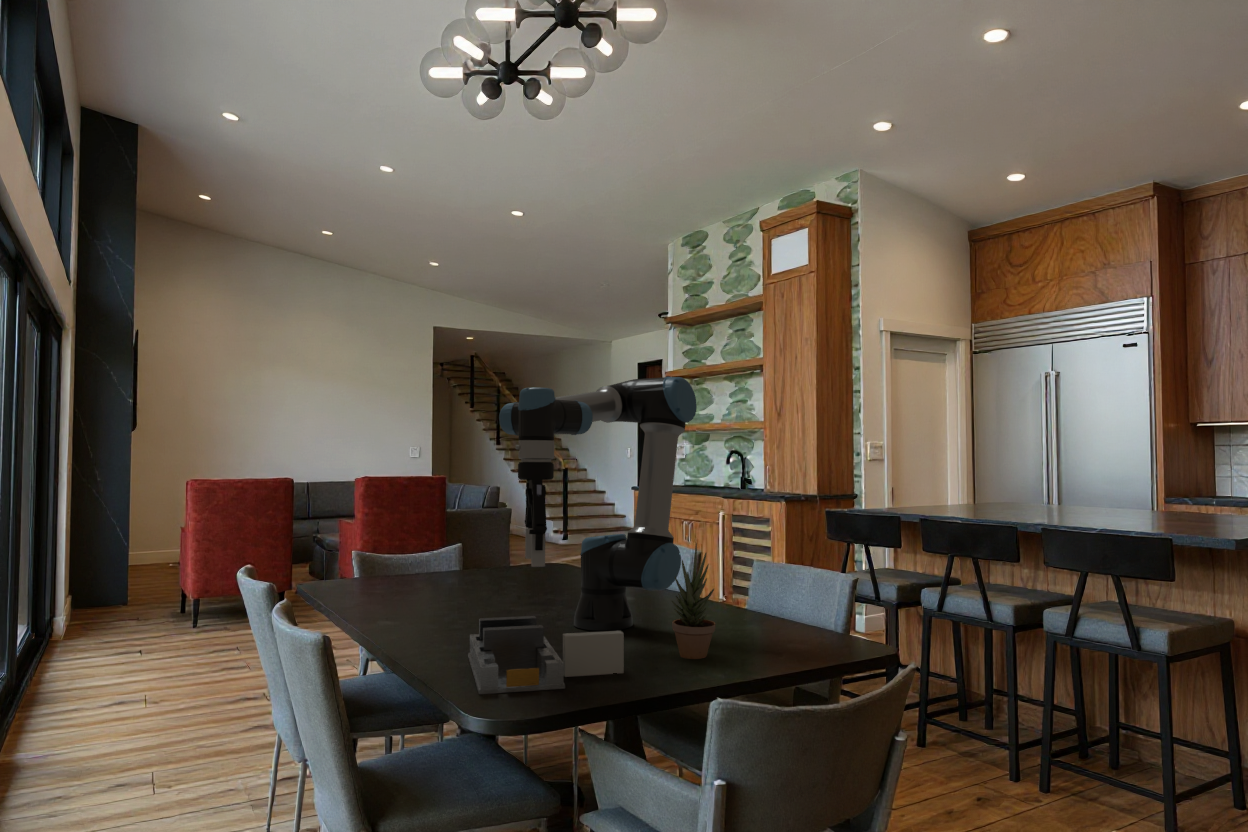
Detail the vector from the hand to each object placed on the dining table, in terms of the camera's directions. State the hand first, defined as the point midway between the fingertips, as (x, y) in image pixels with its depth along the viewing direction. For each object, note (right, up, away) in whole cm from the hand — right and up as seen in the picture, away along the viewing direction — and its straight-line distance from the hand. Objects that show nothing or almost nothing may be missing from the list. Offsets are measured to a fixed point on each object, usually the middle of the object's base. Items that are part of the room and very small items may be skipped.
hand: (534, 562), depth 174 cm
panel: (+13, -21, -7) cm, 26 cm away
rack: (-4, -21, -6) cm, 22 cm away
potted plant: (+34, -22, +8) cm, 41 cm away
